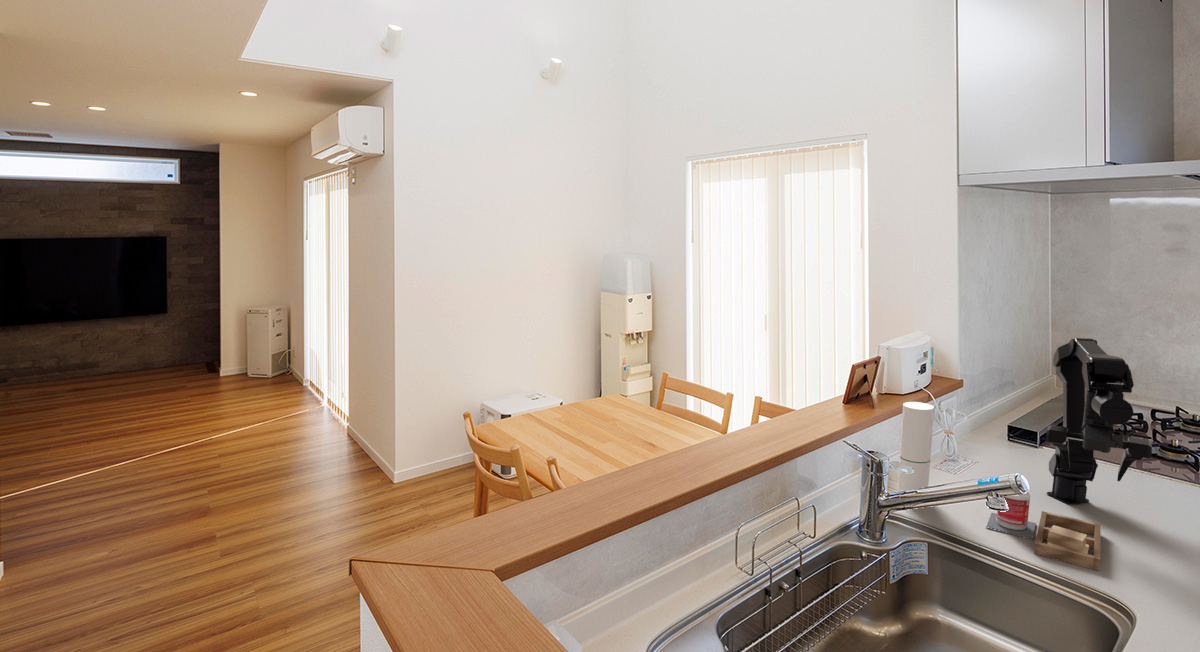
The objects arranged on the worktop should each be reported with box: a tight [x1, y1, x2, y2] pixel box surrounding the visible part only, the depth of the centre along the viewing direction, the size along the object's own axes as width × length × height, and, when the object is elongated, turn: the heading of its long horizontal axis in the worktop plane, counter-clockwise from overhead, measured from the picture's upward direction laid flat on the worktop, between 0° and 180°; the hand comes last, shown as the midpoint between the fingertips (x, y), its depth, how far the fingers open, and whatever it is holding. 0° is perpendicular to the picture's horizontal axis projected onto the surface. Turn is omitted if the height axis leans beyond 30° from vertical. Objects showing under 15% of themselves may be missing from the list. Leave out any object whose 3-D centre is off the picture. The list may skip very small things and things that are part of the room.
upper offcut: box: [1047, 525, 1088, 552], centre depth 133 cm, size 6×4×2 cm, turn 42°
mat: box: [985, 512, 1037, 540], centre depth 145 cm, size 9×9×1 cm
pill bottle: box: [996, 491, 1031, 530], centre depth 144 cm, size 6×6×11 cm
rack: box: [1033, 510, 1102, 572], centre depth 137 cm, size 11×19×2 cm, turn 141°
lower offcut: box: [1046, 542, 1089, 555], centre depth 133 cm, size 7×5×2 cm
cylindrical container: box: [897, 401, 935, 492], centre depth 160 cm, size 7×7×25 cm
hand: (1092, 475), depth 142 cm, fingers open, 9 cm apart
